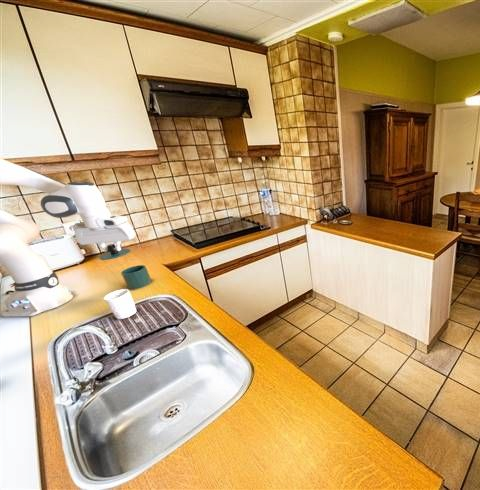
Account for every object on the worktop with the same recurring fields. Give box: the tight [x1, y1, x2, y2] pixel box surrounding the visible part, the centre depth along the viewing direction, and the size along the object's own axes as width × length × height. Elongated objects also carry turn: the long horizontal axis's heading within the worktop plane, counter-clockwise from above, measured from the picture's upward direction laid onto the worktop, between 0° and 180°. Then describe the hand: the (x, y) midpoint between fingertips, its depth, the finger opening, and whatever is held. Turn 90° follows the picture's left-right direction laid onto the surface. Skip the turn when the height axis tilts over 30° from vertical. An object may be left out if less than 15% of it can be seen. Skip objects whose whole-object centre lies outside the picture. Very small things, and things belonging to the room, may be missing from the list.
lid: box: [98, 243, 131, 261], centre depth 115 cm, size 10×10×5 cm
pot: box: [120, 264, 152, 290], centre depth 133 cm, size 9×9×8 cm
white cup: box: [103, 288, 137, 320], centre depth 109 cm, size 8×8×10 cm
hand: (113, 251), depth 115 cm, fingers closed on lid, 2 cm apart
